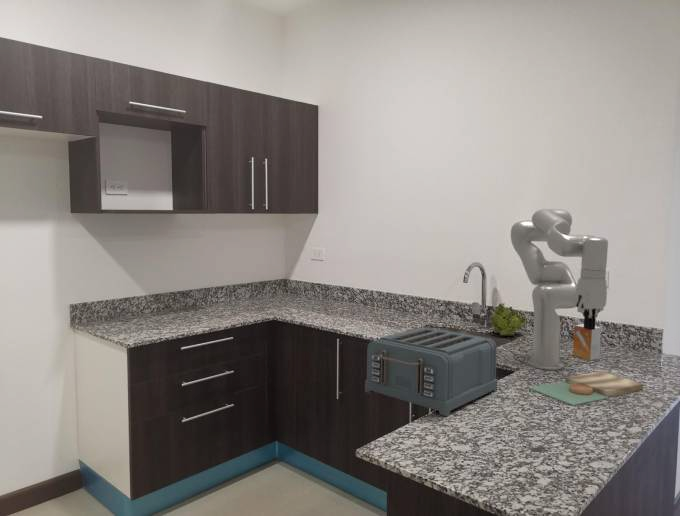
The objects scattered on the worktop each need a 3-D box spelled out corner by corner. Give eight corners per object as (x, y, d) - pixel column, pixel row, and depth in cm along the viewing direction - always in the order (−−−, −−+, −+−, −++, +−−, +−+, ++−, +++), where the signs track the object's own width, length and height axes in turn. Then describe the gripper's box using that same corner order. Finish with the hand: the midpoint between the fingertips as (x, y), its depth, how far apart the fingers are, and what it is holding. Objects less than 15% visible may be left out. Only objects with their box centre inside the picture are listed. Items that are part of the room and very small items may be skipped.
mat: (528, 388, 181) (528, 387, 181) (562, 382, 188) (562, 381, 188) (573, 405, 165) (573, 404, 165) (608, 398, 172) (608, 397, 172)
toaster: (355, 394, 174) (356, 339, 172) (420, 371, 200) (421, 324, 198) (437, 420, 153) (439, 358, 151) (497, 390, 179) (499, 337, 178)
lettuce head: (520, 342, 247) (522, 307, 246) (486, 338, 254) (487, 304, 253) (527, 334, 263) (528, 301, 262) (494, 331, 270) (495, 299, 269)
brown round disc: (565, 391, 177) (565, 387, 177) (573, 387, 182) (574, 382, 182) (587, 396, 172) (587, 391, 172) (595, 391, 177) (595, 386, 177)
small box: (572, 356, 224) (573, 324, 222) (582, 354, 227) (583, 323, 226) (590, 360, 217) (591, 328, 216) (600, 358, 220) (601, 327, 219)
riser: (565, 383, 187) (565, 377, 187) (600, 376, 195) (601, 371, 195) (606, 397, 173) (606, 391, 173) (642, 389, 181) (643, 384, 181)
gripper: (599, 272, 186) (596, 324, 188) (567, 274, 180) (563, 328, 182) (618, 275, 179) (614, 329, 182) (585, 277, 173) (581, 333, 176)
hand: (589, 328), depth 182 cm, fingers closed
